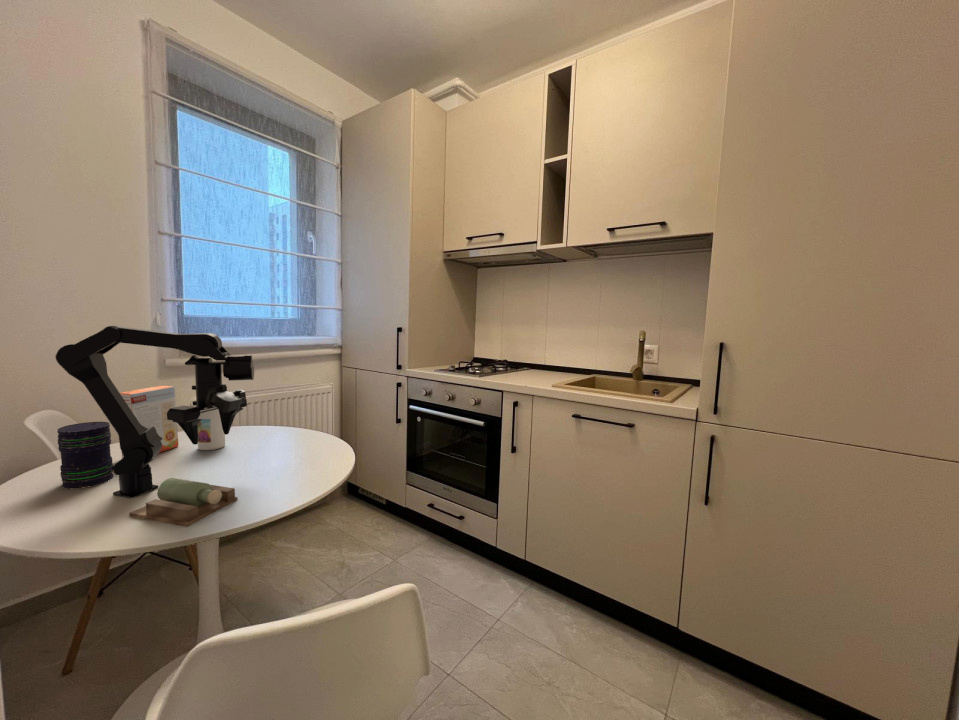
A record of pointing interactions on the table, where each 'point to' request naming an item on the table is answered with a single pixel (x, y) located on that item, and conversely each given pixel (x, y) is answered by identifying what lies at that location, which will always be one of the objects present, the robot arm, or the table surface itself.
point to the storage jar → (85, 454)
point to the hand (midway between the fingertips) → (211, 439)
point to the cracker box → (155, 411)
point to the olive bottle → (188, 492)
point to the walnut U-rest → (183, 509)
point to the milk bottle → (210, 431)
